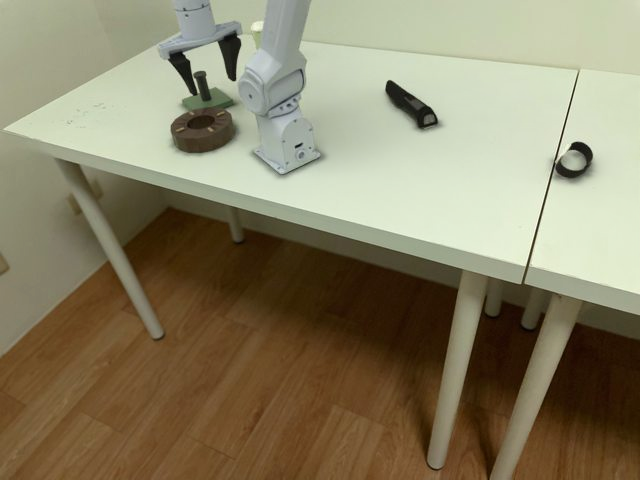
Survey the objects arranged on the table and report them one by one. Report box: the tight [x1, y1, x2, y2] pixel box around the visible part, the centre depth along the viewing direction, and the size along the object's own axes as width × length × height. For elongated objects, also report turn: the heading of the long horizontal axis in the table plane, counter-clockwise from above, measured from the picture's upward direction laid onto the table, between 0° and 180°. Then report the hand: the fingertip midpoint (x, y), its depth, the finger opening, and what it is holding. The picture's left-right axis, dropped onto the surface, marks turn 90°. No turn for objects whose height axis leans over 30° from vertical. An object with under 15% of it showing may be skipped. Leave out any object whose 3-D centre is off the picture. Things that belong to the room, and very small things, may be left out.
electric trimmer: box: [384, 79, 439, 130], centre depth 87 cm, size 4×16×3 cm, turn 21°
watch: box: [554, 141, 594, 179], centre depth 69 cm, size 8×5×4 cm, turn 140°
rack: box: [181, 70, 234, 111], centre depth 95 cm, size 8×8×7 cm
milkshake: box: [250, 20, 264, 51], centre depth 107 cm, size 4×5×10 cm
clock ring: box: [169, 107, 236, 154], centre depth 87 cm, size 11×11×3 cm
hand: (213, 86), depth 83 cm, fingers open, 7 cm apart
